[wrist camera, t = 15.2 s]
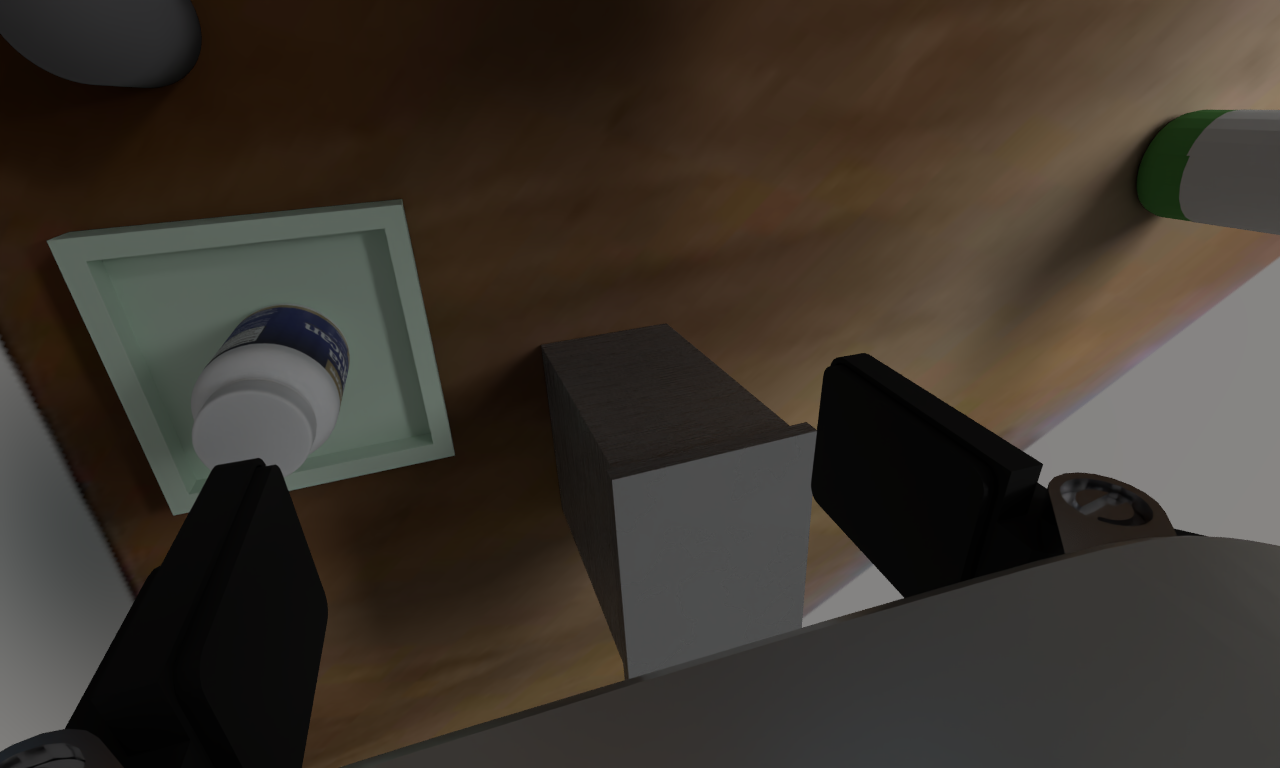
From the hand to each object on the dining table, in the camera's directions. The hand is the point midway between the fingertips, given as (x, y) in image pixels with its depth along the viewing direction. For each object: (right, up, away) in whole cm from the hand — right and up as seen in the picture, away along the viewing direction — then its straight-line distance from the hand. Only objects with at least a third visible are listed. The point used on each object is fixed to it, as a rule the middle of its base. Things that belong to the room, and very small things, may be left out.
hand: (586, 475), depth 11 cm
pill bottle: (-17, +3, +21) cm, 27 cm away
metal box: (-1, -1, +30) cm, 30 cm away
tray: (-17, +3, +22) cm, 28 cm away
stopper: (-20, +16, +15) cm, 30 cm away
